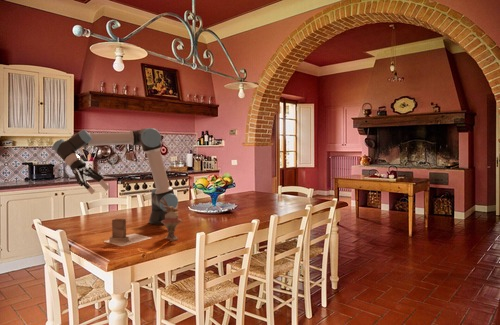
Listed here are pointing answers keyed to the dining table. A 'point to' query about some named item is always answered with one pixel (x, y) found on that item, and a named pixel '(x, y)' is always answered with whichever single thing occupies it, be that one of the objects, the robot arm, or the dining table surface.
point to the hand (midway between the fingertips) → (101, 190)
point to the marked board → (131, 239)
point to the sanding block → (119, 231)
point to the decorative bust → (170, 220)
